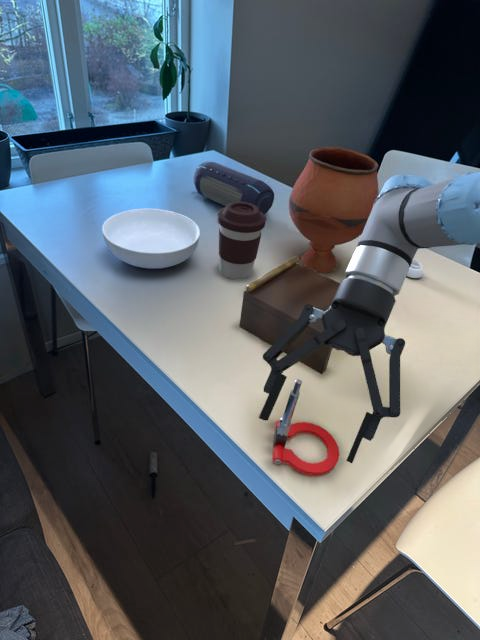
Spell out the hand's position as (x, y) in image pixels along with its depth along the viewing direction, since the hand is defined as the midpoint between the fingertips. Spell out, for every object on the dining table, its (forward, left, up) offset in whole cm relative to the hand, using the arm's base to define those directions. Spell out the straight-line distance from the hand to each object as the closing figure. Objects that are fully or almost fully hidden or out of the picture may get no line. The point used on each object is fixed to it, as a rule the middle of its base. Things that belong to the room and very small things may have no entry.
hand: (304, 439), depth 58 cm
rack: (+15, -26, -5) cm, 30 cm away
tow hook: (0, -3, -5) cm, 6 cm away
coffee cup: (+37, -33, -5) cm, 50 cm away
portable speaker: (+61, -60, -5) cm, 86 cm away
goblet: (+26, -51, -5) cm, 57 cm away
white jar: (+8, -64, -5) cm, 64 cm away
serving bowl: (+54, -24, -5) cm, 60 cm away
